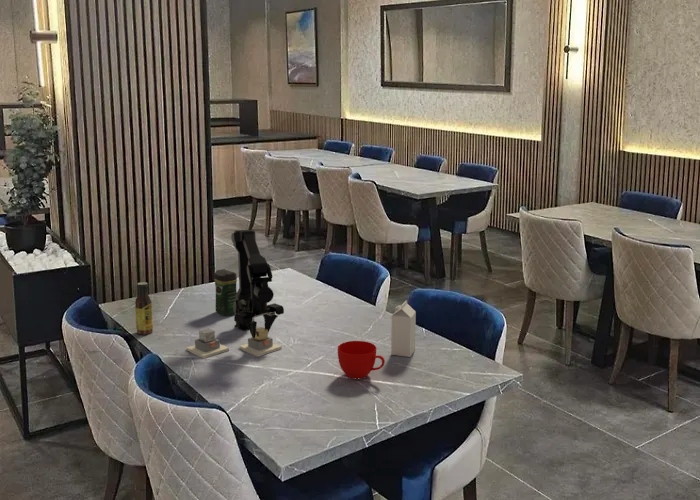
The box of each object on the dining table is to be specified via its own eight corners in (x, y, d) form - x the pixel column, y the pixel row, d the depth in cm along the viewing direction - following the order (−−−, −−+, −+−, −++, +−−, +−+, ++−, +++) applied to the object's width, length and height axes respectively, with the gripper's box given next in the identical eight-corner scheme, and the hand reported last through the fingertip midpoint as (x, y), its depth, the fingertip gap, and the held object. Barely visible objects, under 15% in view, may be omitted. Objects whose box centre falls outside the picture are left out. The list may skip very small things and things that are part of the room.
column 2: (261, 341, 277) (261, 326, 276) (268, 344, 274) (268, 329, 273) (252, 344, 274) (251, 329, 273) (259, 347, 271) (258, 332, 270)
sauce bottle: (148, 335, 288) (145, 286, 283) (133, 334, 289) (130, 285, 284) (156, 330, 294) (153, 281, 289) (141, 329, 295) (138, 280, 290)
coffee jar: (241, 313, 314) (239, 271, 310) (225, 317, 309) (223, 274, 304) (228, 308, 321) (226, 266, 317) (212, 312, 316) (210, 269, 311)
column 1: (209, 343, 275) (208, 328, 274) (215, 346, 273) (214, 331, 271) (199, 346, 273) (198, 330, 271) (205, 349, 270) (205, 333, 268)
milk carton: (415, 350, 273) (416, 301, 269) (410, 357, 267) (411, 306, 262) (396, 348, 275) (397, 299, 271) (390, 355, 269) (391, 304, 264)
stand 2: (263, 341, 282) (263, 331, 281) (281, 348, 274) (281, 338, 274) (239, 348, 275) (239, 338, 274) (257, 356, 267) (257, 346, 266)
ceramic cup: (374, 389, 240) (374, 360, 238) (330, 377, 249) (330, 349, 247) (393, 375, 251) (393, 347, 249) (350, 365, 260) (350, 338, 257)
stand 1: (211, 342, 280) (211, 332, 280) (228, 350, 273) (228, 340, 272) (186, 350, 273) (185, 339, 272) (203, 358, 265) (202, 347, 264)
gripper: (265, 285, 282) (266, 324, 285) (224, 295, 269) (226, 336, 273) (284, 291, 274) (285, 331, 278) (242, 302, 261) (244, 344, 265)
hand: (260, 335), depth 273 cm, fingers open, 6 cm apart
